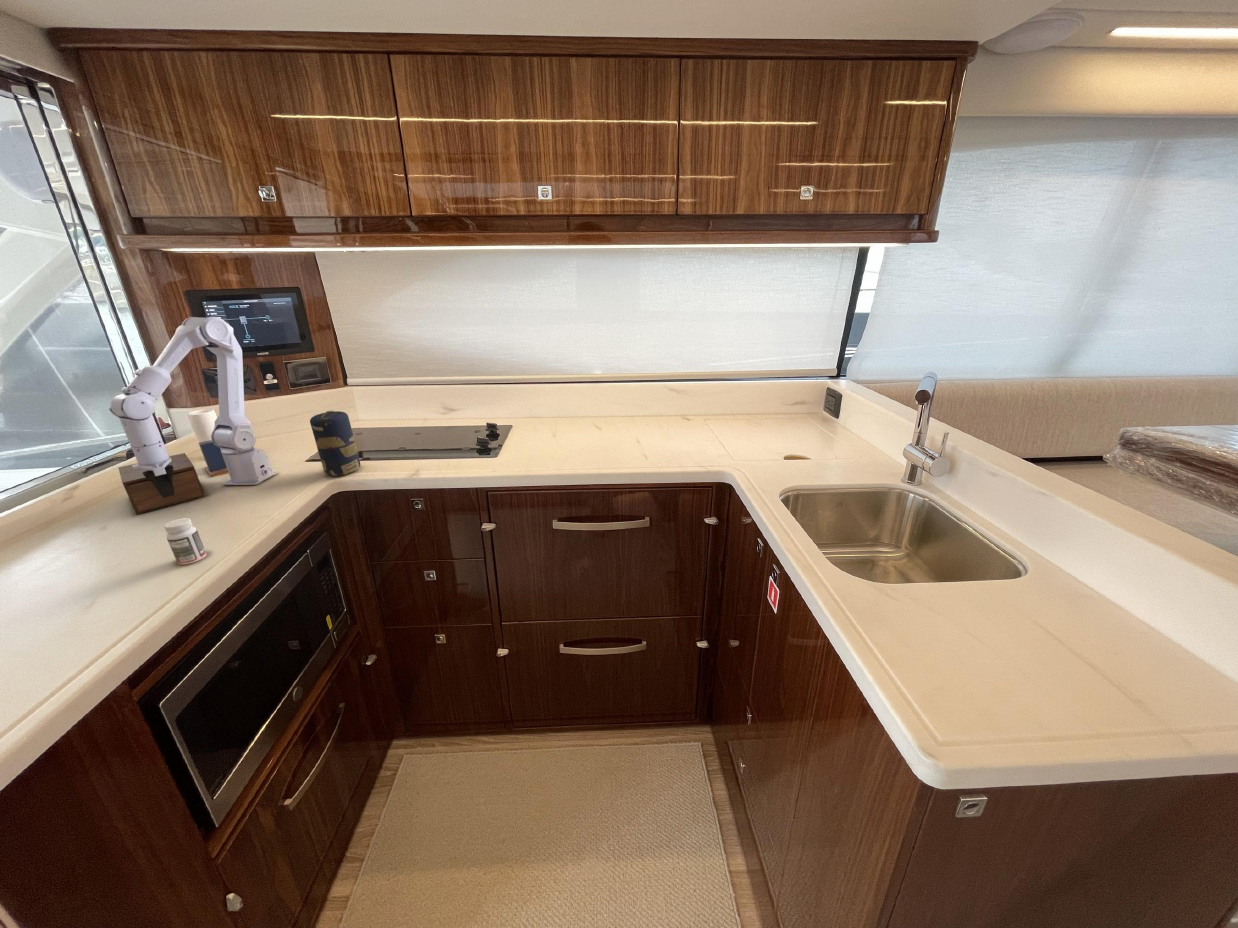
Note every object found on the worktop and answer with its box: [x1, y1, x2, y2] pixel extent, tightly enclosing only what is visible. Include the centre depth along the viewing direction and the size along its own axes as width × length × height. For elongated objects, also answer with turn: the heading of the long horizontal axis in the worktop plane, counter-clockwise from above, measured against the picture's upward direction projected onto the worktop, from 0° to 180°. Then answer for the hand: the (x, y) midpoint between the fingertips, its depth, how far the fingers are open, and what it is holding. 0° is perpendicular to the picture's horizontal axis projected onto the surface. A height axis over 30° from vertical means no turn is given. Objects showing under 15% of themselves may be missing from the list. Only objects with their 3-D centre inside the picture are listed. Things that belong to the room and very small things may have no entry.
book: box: [198, 440, 227, 472], centre depth 149 cm, size 3×9×8 cm, turn 136°
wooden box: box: [118, 452, 206, 515], centre depth 130 cm, size 16×14×9 cm
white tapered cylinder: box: [187, 408, 218, 443], centre depth 158 cm, size 7×7×15 cm
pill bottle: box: [163, 517, 207, 566], centre depth 100 cm, size 5×5×8 cm
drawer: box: [127, 470, 202, 512], centre depth 129 cm, size 16×12×7 cm
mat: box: [204, 466, 229, 477], centre depth 151 cm, size 10×10×1 cm
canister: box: [309, 410, 361, 477], centre depth 140 cm, size 10×10×18 cm
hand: (168, 495), depth 124 cm, fingers closed, pressing on drawer
